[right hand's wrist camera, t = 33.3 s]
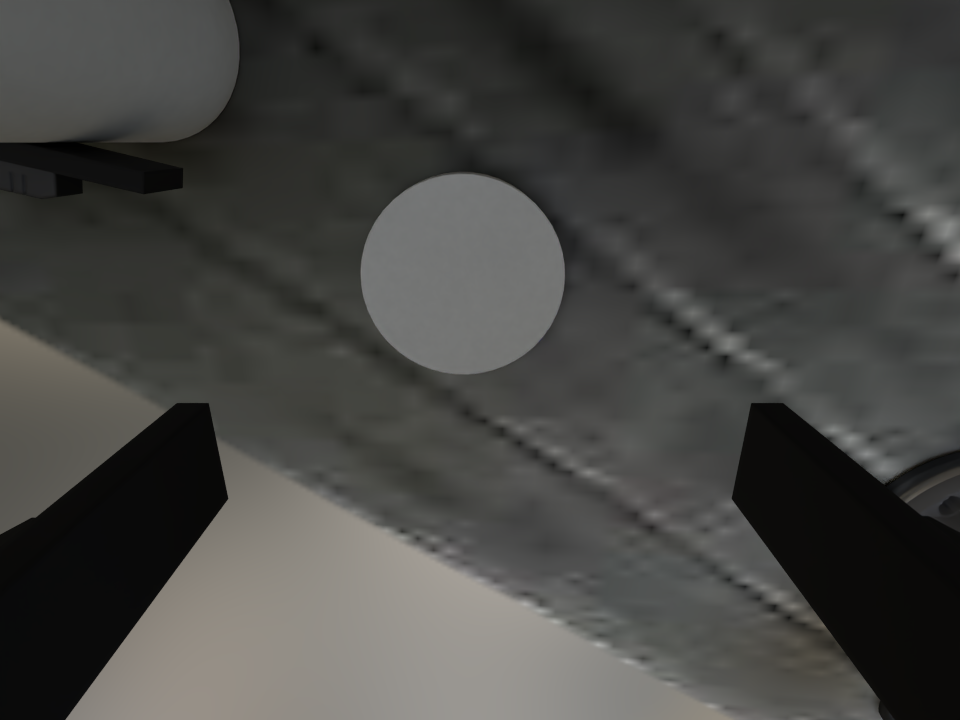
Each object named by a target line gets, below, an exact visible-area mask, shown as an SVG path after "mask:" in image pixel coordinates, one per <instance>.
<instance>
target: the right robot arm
mask: <svg viewBox="0 0 960 720" xmlns="http://www.w3.org/2000/svg"><path fill="white" fill-rule="evenodd" d="M227 500H228V495H227V490H226V485H225V480H224V476H223V471H222V466H221V461H220V456H219V451H218V447H217V442H216V437H215V432H214V427H213V422H212V417H211V412H210V407H209V403H177V404H175V405H174V406H173V407H172V408H170V409H169V410H168V411H167V412H165V413H164V414H163V415H162V416H161V417H159V418H158V419H157V420H156V421H154V422H153V423H152V424H151V425H149V426H148V427H147V428H146V429H145V430H143V431H142V432H141V433H140V434H138V435H137V436H136V437H135V438H133V439H132V440H131V441H130V442H129V443H127V444H126V445H125V446H124V447H122V448H121V449H120V450H119V451H117V452H116V453H115V454H114V455H112V456H111V457H110V458H109V459H108V460H106V461H105V462H104V463H103V464H101V465H100V466H99V467H98V468H96V469H95V470H94V471H93V472H91V473H90V474H89V475H88V476H87V477H85V478H84V479H83V480H82V481H80V482H79V483H78V484H77V485H76V486H74V487H73V488H72V489H71V490H69V491H68V492H67V493H66V494H64V495H63V496H62V497H61V498H59V499H58V500H57V501H56V502H54V503H53V504H52V505H51V506H50V507H48V508H47V509H46V510H45V511H43V512H42V513H41V514H40V515H38V516H37V517H36V518H30V519H28V520H27V521H25V522H23V523H21V524H19V525H17V526H15V527H14V528H12V529H10V530H8V531H6V532H4V533H2V534H0V720H65V719H66V718H67V717H68V715H69V714H70V713H71V711H72V710H73V709H74V707H75V706H76V705H77V703H78V702H79V700H80V699H81V698H82V696H83V695H84V694H85V692H86V691H87V690H88V688H89V687H90V685H91V684H92V683H93V681H94V680H95V679H96V677H97V676H98V675H99V673H100V672H101V671H102V669H103V668H104V667H105V665H106V664H107V663H108V661H109V660H110V658H111V657H112V656H113V654H114V653H115V652H116V650H117V649H118V648H119V646H120V645H121V643H122V642H123V641H124V639H125V638H126V637H127V635H128V634H129V633H130V631H131V630H132V629H133V627H134V626H135V624H136V623H137V622H138V620H139V619H140V618H141V616H142V615H143V614H144V612H145V611H146V610H147V608H148V607H149V606H150V604H151V603H152V601H153V600H154V599H155V597H156V596H157V595H158V593H159V592H160V591H161V589H162V588H163V587H164V585H165V584H166V583H167V581H168V580H169V578H170V577H171V576H172V574H173V573H174V572H175V570H176V569H177V568H178V566H179V565H180V563H181V562H182V561H183V559H184V558H185V557H186V555H187V554H188V553H189V551H190V550H191V549H192V547H193V546H194V545H195V543H196V542H197V540H198V539H199V538H200V536H201V535H202V534H203V532H204V531H205V530H206V528H207V527H208V526H209V524H210V523H211V521H212V520H213V519H214V517H215V516H216V515H217V513H218V512H219V511H220V509H221V508H222V507H223V505H224V504H225V503H226V501H227ZM732 500H733V501H734V503H735V504H736V505H737V507H738V508H739V509H740V511H741V512H742V513H743V515H744V516H745V517H746V519H747V520H748V521H749V523H750V524H751V526H752V527H753V528H754V530H755V531H756V532H757V534H758V535H759V536H760V538H761V539H762V540H763V542H764V543H765V545H766V546H767V547H768V549H769V550H770V551H771V553H772V554H773V555H774V557H775V558H776V559H777V561H778V562H779V564H780V565H781V566H782V568H783V569H784V570H785V572H786V573H787V574H788V576H789V577H790V578H791V580H792V581H793V583H794V584H795V585H796V587H797V588H798V589H799V591H800V592H801V593H802V595H803V596H804V597H805V599H806V600H807V601H808V603H809V604H810V606H811V607H812V608H813V610H814V611H815V612H816V614H817V615H818V616H819V618H820V619H821V620H822V622H823V623H824V625H825V626H826V627H827V629H828V630H829V631H830V633H831V634H832V635H833V637H834V638H835V639H836V641H837V642H838V644H839V645H840V646H841V648H842V649H843V650H844V652H845V653H846V654H847V656H848V657H849V658H850V660H851V661H852V663H853V664H854V665H855V667H856V668H857V669H858V671H859V672H860V673H861V675H862V676H863V677H864V679H865V680H866V681H867V683H868V684H869V686H870V687H871V688H872V690H873V691H874V692H875V694H876V695H877V696H878V698H879V699H880V704H879V713H880V715H881V717H882V719H883V720H960V452H958V453H954V454H950V455H947V456H944V457H941V458H938V459H935V460H933V461H930V462H928V463H926V464H923V465H921V466H919V467H917V468H915V469H913V470H911V471H910V472H908V473H906V474H904V475H903V476H901V477H899V478H898V479H896V480H895V481H894V482H892V483H891V484H889V485H888V486H887V487H886V486H885V485H883V484H882V483H881V482H880V481H878V480H877V479H876V478H875V477H873V476H872V475H871V474H870V473H869V472H867V471H866V470H865V469H864V468H862V467H861V466H860V465H859V464H857V463H856V462H855V461H854V460H852V459H851V458H850V457H849V456H848V455H846V454H845V453H844V452H843V451H841V450H840V449H839V448H838V447H836V446H835V445H834V444H833V443H832V442H830V441H829V440H828V439H827V438H825V437H824V436H823V435H822V434H820V433H819V432H818V431H817V430H815V429H814V428H813V427H812V426H811V425H809V424H808V423H807V422H806V421H804V420H803V419H802V418H801V417H799V416H798V415H797V414H796V413H795V412H793V411H792V410H791V409H790V408H788V407H787V406H786V405H785V404H783V403H751V407H750V412H749V417H748V422H747V427H746V432H745V437H744V441H743V446H742V451H741V456H740V461H739V466H738V471H737V476H736V480H735V485H734V490H733V495H732Z"/></svg>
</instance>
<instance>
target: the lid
mask: <svg viewBox="0 0 960 720" xmlns="http://www.w3.org/2000/svg"><path fill="white" fill-rule="evenodd" d="M564 283H565V264H564V258H563V253H562V249H561V246H560V243H559V239H558V237H557V235H556V233H555V231H554V228H553V226H552V225H551V223H550V222H549V220H548V219H547V217H546V216H545V214H544V213H543V212H542V211H541V209H540V208H539V207H538V206H537V205H536V204H535V203H534V202H533V201H532V200H531V199H530V198H529V197H527V196H526V195H525V194H524V193H523V192H522V191H520V190H519V189H517V188H516V187H514V186H512V185H511V184H509V183H507V182H505V181H503V180H501V179H499V178H495V177H492V176H489V175H486V174H480V173H475V172H451V173H444V174H440V175H436V176H432V177H429V178H427V179H425V180H422V181H420V182H418V183H416V184H414V185H413V186H411V187H409V188H408V189H406V190H405V191H404V192H402V193H401V194H400V195H399V196H397V197H396V198H395V199H394V200H393V201H392V202H391V203H390V204H389V205H388V206H387V207H386V208H385V209H384V210H383V211H382V213H381V214H380V215H379V217H378V218H377V220H376V221H375V223H374V225H373V227H372V229H371V230H370V232H369V235H368V237H367V240H366V243H365V246H364V250H363V255H362V260H361V286H362V291H363V297H364V300H365V303H366V306H367V309H368V312H369V314H370V316H371V318H372V320H373V322H374V324H375V325H376V327H377V328H378V330H379V331H380V333H381V334H382V335H383V336H384V338H385V339H386V340H387V341H388V342H389V343H390V344H391V345H392V346H393V347H394V348H395V349H396V350H397V351H398V352H400V353H401V354H403V355H404V356H405V357H407V358H408V359H410V360H412V361H414V362H416V363H417V364H419V365H422V366H424V367H427V368H429V369H432V370H436V371H440V372H444V373H451V374H476V373H483V372H487V371H492V370H495V369H498V368H500V367H503V366H505V365H507V364H509V363H511V362H513V361H515V360H517V359H518V358H520V357H521V356H523V355H524V354H526V353H527V352H528V351H529V350H531V349H532V348H533V347H534V346H535V345H536V344H537V343H538V342H539V341H540V340H541V338H542V337H543V336H544V335H545V333H546V332H547V331H548V329H549V328H550V326H551V324H552V322H553V321H554V319H555V317H556V315H557V312H558V309H559V307H560V304H561V300H562V296H563V292H564Z"/></svg>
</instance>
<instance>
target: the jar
mask: <svg viewBox="0 0 960 720" xmlns="http://www.w3.org/2000/svg"><path fill="white" fill-rule="evenodd" d="M239 59H240V55H239V37H238V30H237V25H236V21H235V17H234V13H233V10H232V7H231V4H230V2H229V0H0V143H10V142H170V141H177V140H181V139H184V138H188V137H190V136H192V135H194V134H197V133H199V132H200V131H202V130H203V129H205V128H206V127H208V126H209V125H210V124H211V123H212V122H213V121H214V120H215V119H216V118H217V117H218V116H219V114H220V113H221V112H222V111H223V109H224V108H225V106H226V104H227V103H228V101H229V99H230V97H231V95H232V92H233V89H234V87H235V83H236V79H237V75H238V68H239Z"/></svg>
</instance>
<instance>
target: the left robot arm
mask: <svg viewBox="0 0 960 720" xmlns="http://www.w3.org/2000/svg"><path fill="white" fill-rule="evenodd" d="M82 180H85V181H90V182H94V183H98V184H103V185H107V186H111V187H115V188H120V189H124V190H128V191H132V192H137V193H141V194H148V193H154V192H160V191H166V190H173V189H179V188H183V168H179V167H175V166H171V165H167V164H163V163H159V162H154V161H150V160H146V159H142V158H138V157H134V156H129V155H125V154H121V153H117V152H113V151H109V150H105V149H100V148H96V147H92V146H88V145H84V144H80V143H75V142H10V143H0V190H5V191H9V192H14V193H18V194H22V195H27V196H31V197H36V198H40V199H46V198H53V197H61V196H68V195H75V194H81V193H83V189H82Z"/></svg>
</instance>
